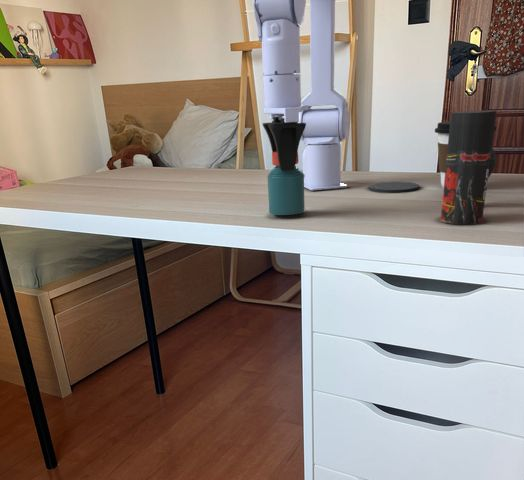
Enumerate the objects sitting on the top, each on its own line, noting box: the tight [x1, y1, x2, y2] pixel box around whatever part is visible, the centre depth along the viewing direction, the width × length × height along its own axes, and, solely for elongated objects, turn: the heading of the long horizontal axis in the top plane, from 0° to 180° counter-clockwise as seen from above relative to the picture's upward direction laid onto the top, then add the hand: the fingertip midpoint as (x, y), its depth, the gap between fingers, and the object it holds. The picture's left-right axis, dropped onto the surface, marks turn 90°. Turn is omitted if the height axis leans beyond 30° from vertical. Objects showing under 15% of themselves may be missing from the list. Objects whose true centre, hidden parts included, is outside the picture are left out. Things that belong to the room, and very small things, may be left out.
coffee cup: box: [434, 120, 497, 190], centre depth 102 cm, size 11×11×12 cm
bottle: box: [267, 165, 306, 216], centre depth 87 cm, size 6×6×9 cm
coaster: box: [368, 181, 420, 194], centre depth 108 cm, size 10×10×1 cm
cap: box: [271, 151, 299, 166], centre depth 85 cm, size 4×4×2 cm
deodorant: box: [440, 109, 497, 226], centre depth 76 cm, size 6×6×15 cm
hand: (284, 168), depth 86 cm, fingers closed on cap, 4 cm apart
